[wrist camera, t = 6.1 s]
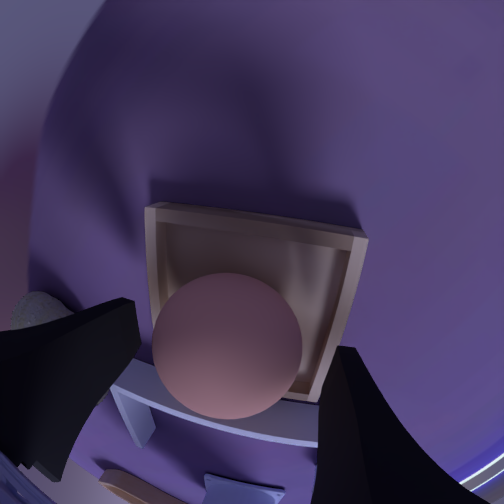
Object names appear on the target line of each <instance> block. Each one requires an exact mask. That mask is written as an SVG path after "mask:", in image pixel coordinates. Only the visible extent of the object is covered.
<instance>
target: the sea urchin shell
mask: <svg viewBox="0 0 504 504" xmlns="http://www.w3.org/2000/svg"><path fill="white" fill-rule="evenodd" d="M12 314H13V316H12V318H11V320H12V322H11V330H16V329H22V328H27V327H31V326H36V325H40V324H43V323H47V322H50V321H53V320H56V319H59V318H62V317H66V316H69V315H72V314H74V313H73V312H71V311H70V310H69V309H67V308H66V307H65V306H64V304H62V302H61V301H59V300H58V299H56V298H54V297H52V296H50V295H49V294H48V293H45V292H40V291H36V292H35V291H32V292H30V293H28V294H26V295H25V296H23V298H22V299H21V300H20V301H19V302H18V304H17V305H16V306H15V309H14V311H13V312H12ZM108 391H109V390H108ZM108 391H107V392H106V393H105V394H104V396H103V397H102V398H101V399H100V401H99V402H98V403H97V405H98V404H99V403H100V402H102V401H103V399H105V396H106V395H108V394H107V393H108Z"/></svg>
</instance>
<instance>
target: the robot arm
mask: <svg viewBox="0 0 504 504" xmlns="http://www.w3.org/2000/svg"><path fill="white" fill-rule="evenodd" d="M140 345H141V339H140V333H139V327H138V321H137V315H136V308H135V301H132V300H129V299H126V298H123V297H121V298H117V299H114V300H111V301H108V302H105V303H102V304H99V305H96V306H94V307H91V308H88V309H85V310H83V311H80V312H77V313H74V314H72V315H69V316H66V317H62V318H59V319H56V320H53V321H50V322H47V323H43V324H40V325H36V326H31V327H27V328H22V329H16V330H8V331H1V332H0V504H57V503H55V502H54V501H52V499H50V498H49V497H48V496H47V495H46V494H44V493H43V492H42V491H41V490H40V489H39V488H38V487H37V486H35V485H34V484H33V483H32V482H31V481H30V480H29V479H28V478H27V477H26V476H25V475H24V474H23V473H22V472H21V471H20V470H19V469H18V468H17V467H18V466H19V465H20V463H22V464H23V465H24V466H25V467H26V468H27V469H30V468H31V467H32V465H33V466H34V467H35V468H36V469H38V470H39V471H40V472H41V473H42V474H44V475H45V476H46V477H47V478H49V479H50V480H51V481H52V482H59V481H61V478H62V474H63V471H64V468H65V465H66V462H67V459H68V457H69V454H70V452H71V450H72V448H73V445H74V443H75V441H76V439H77V437H78V435H79V433H80V431H81V429H82V427H83V425H84V424H85V422H86V420H87V419H88V417H89V415H90V414H91V412H92V410H93V409H94V407H95V406H96V405H97V403H98V402H99V401H100V399H101V398H102V397H103V396H104V394H105V393H106V392H107V391H108V390H109V388H110V387H111V386H112V385H113V383H114V382H115V381H116V380H117V379H118V377H119V376H120V375H121V374H122V372H123V371H124V370H125V369H126V367H127V366H128V365H129V364H130V362H131V360H132V359H133V357H134V356H135V354H136V352H137V350H138V349H139V347H140ZM204 481H205V487H206V492H207V493H206V495H205V498H204V500H203V502H202V504H278V502H279V501H280V500H281V499H282V497H283V496H284V495H285V492H286V491H285V490H282V489H275V488H269V487H263V486H257V485H252V484H247V483H242V482H238V481H234V480H230V479H226V478H222V477H218V476H215V475H211V474H205V475H204ZM17 491H18V492H19V493H21V495H22V496H23V497H22V496H21V495H19V494H18V493H17ZM311 504H490V503H488V502H487V501H485V500H483V499H482V498H480V497H479V496H477V495H475V494H474V493H472V492H471V491H469V490H467V489H466V488H465V487H463V486H462V485H461V484H459V483H458V482H457V481H456V480H454V479H453V478H452V477H451V476H449V475H448V474H447V473H446V472H445V471H444V470H443V469H442V468H440V467H439V466H438V465H437V464H436V463H435V462H434V461H433V460H432V459H431V458H430V457H429V456H428V455H427V454H426V453H425V451H424V450H423V449H422V448H421V447H420V446H419V445H418V444H417V442H416V441H415V440H414V439H413V438H412V436H411V435H410V434H409V433H408V431H407V430H406V429H405V428H404V426H403V425H402V424H401V422H400V421H399V420H398V418H397V417H396V415H395V414H394V412H393V411H392V409H391V408H390V406H389V405H388V403H387V402H386V400H385V398H384V397H383V395H382V393H381V392H380V390H379V389H378V387H377V385H376V384H375V382H374V380H373V378H372V377H371V375H370V373H369V371H368V370H367V368H366V366H365V364H364V362H363V360H362V359H361V357H360V355H359V353H358V352H357V350H356V348H354V347H346V346H338V345H337V347H336V350H335V353H334V356H333V359H332V361H331V364H330V367H329V369H328V372H327V375H326V377H325V380H324V382H323V385H322V388H321V396H320V404H319V412H318V451H317V470H316V479H315V485H314V490H313V495H312V500H311Z"/></svg>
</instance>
